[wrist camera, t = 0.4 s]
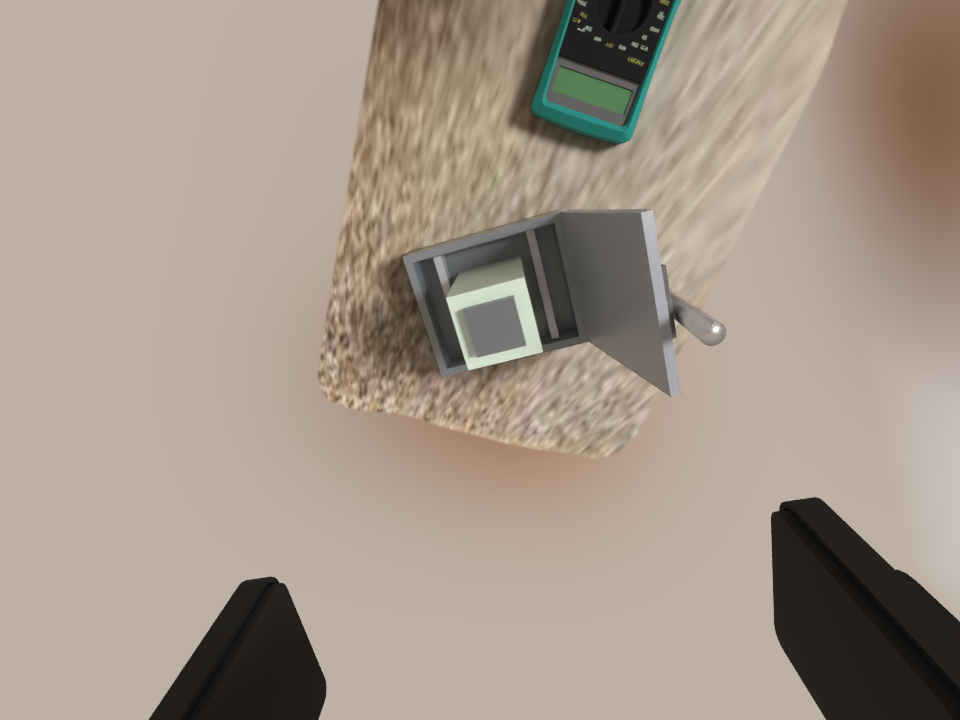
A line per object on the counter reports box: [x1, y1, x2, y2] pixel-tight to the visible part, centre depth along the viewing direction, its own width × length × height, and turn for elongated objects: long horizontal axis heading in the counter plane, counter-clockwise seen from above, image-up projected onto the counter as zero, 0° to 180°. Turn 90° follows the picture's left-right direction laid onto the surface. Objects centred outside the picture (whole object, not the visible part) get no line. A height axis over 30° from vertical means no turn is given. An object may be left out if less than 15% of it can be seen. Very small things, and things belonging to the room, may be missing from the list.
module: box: [446, 255, 543, 370], centre depth 35 cm, size 5×5×10 cm
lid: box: [561, 209, 681, 397], centre depth 31 cm, size 10×12×1 cm
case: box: [402, 210, 589, 377], centre depth 39 cm, size 10×12×3 cm
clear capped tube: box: [669, 288, 726, 346], centre depth 31 cm, size 2×2×17 cm
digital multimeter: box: [531, 0, 681, 144], centre depth 32 cm, size 7×15×3 cm, turn 163°
